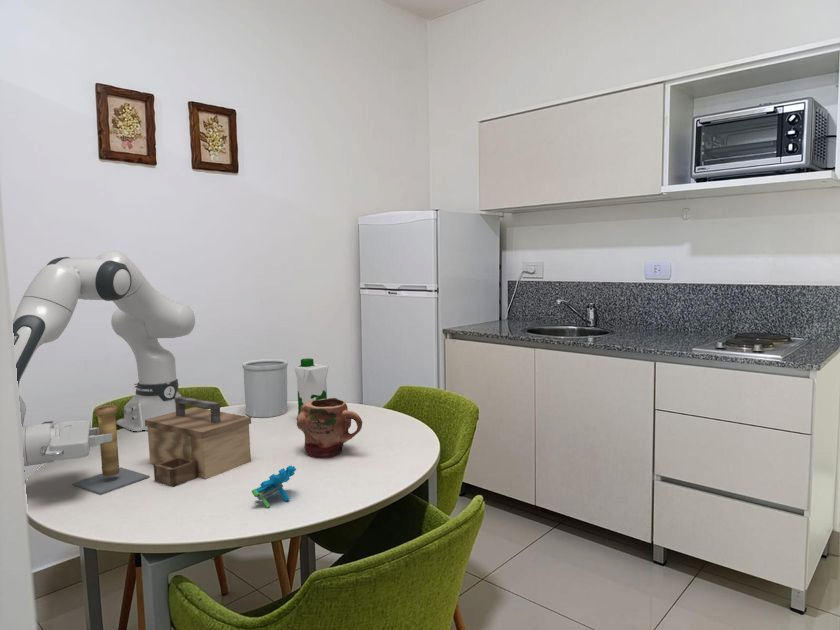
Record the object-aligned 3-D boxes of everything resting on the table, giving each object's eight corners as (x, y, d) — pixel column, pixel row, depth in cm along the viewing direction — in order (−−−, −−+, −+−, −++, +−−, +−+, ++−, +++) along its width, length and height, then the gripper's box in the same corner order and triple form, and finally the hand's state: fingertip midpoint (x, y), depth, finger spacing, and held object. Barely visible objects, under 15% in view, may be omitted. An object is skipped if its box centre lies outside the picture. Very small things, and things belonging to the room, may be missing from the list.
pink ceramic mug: (373, 448, 159) (372, 398, 158) (354, 464, 148) (353, 410, 146) (308, 443, 166) (306, 394, 164) (285, 457, 154) (283, 405, 153)
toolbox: (123, 471, 146) (118, 407, 144) (196, 447, 164) (193, 390, 162) (180, 489, 133) (176, 419, 132) (253, 461, 152) (250, 399, 150)
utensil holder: (276, 404, 210) (274, 356, 209) (297, 412, 199) (295, 361, 198) (237, 412, 201) (235, 362, 199) (257, 421, 190) (254, 367, 188)
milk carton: (315, 416, 194) (313, 356, 192) (333, 420, 188) (331, 359, 186) (293, 422, 187) (291, 360, 185) (311, 427, 181) (309, 363, 179)
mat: (72, 484, 138) (72, 483, 138) (121, 468, 148) (121, 467, 148) (100, 494, 131) (100, 493, 131) (149, 477, 141) (149, 475, 141)
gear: (284, 479, 134) (298, 456, 128) (298, 500, 132) (313, 478, 126) (242, 501, 126) (256, 478, 120) (257, 523, 124) (271, 502, 118)
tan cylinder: (95, 474, 139) (90, 408, 137) (115, 468, 143) (110, 404, 141) (106, 478, 136) (101, 411, 135) (126, 471, 140) (121, 406, 139)
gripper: (37, 442, 123) (111, 432, 129) (46, 419, 141) (111, 411, 147) (39, 471, 124) (113, 459, 130) (48, 445, 142) (112, 435, 148)
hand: (112, 433), depth 139 cm, fingers closed on tan cylinder, 4 cm apart
